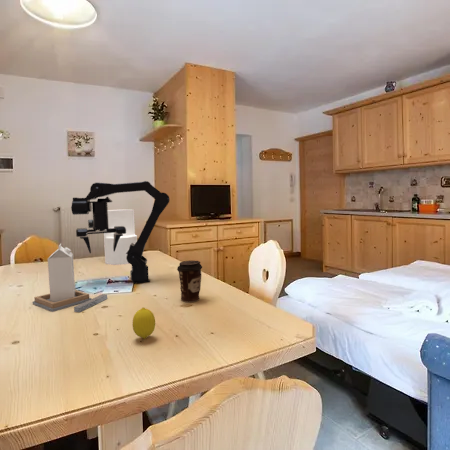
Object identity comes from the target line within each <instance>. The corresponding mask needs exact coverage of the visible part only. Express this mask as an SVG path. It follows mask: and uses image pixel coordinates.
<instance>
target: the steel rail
mask: <svg viewBox="0 0 450 450" xmlns="http://www.w3.org/2000/svg"><path fill="white" fill-rule="evenodd" d="M106 300H108V294H103V293H102V294H99V295H98V296H95V297H93V298H92V299H91V300H89V301H86V302H84V303H81V304H78V305H74V306H73V311H74V312H75V313H81V312H84V311H85V310H88V309H90V308H91V307H93V306H96V305H97V304H99V303H102V302H104V301H106Z"/></svg>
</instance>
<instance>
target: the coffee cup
mask: <svg viewBox="0 0 450 450" xmlns="http://www.w3.org/2000/svg"><path fill="white" fill-rule="evenodd" d="M202 269H203V266H202V264H201V261H199V260H185V261H180V262H179V265H178V266H177V268H176V270H177V272H178V276H179V282H180V283H179V284H180V286H179V287H180V295H181V296H180V301H181V302H183V303H194V302H197V301H199V300H200V291H201V286H202V285H201V282H202Z"/></svg>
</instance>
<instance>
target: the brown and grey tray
mask: <svg viewBox="0 0 450 450" xmlns="http://www.w3.org/2000/svg"><path fill="white" fill-rule="evenodd" d="M91 299H93V298H91V297H90V294H89V293H86V292H83V291H79V290H76V289H75V297H73V298H69V299H66V300H62V301H58V302H51V301H50V293H46V294H42V295H37V296H34V301H32V303H31V304H32V305H34V306H37V307H38V308H41V309H44V310H46V311H48V312H52V313H53V312H56V311H60V310H64V309H67V308H70V307H75V306H78V305H80V304H82V303H84V302H86V301H89V300H91Z"/></svg>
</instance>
